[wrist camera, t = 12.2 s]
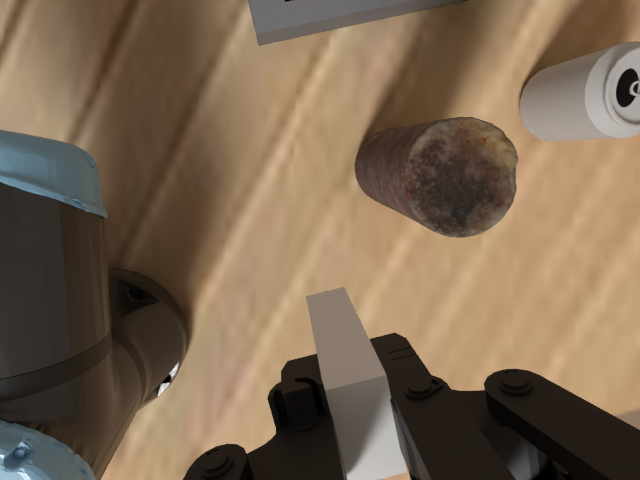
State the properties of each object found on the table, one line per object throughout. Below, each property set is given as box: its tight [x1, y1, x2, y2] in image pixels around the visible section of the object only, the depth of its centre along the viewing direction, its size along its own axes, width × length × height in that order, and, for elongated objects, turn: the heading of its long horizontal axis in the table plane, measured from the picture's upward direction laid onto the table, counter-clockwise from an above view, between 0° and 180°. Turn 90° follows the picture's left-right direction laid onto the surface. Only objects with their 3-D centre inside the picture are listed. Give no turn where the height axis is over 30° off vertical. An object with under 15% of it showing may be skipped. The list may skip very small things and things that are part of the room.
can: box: [520, 41, 640, 141], centre depth 38 cm, size 8×8×12 cm
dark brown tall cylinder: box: [355, 117, 518, 237], centre depth 34 cm, size 8×7×20 cm
